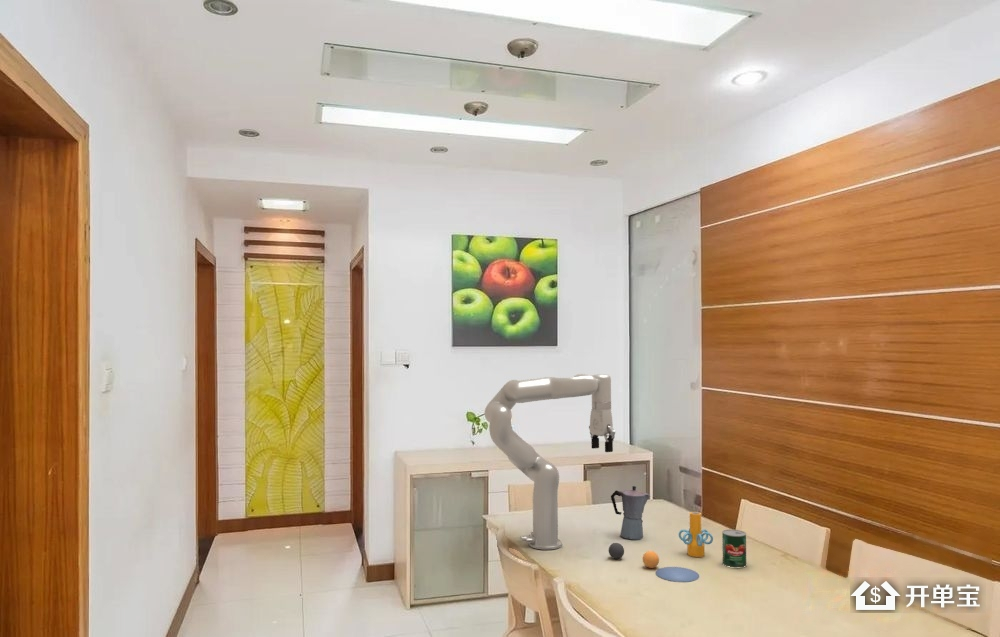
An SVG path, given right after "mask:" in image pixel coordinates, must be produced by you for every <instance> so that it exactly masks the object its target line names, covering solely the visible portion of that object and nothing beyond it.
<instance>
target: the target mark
mask: <svg viewBox="0 0 1000 637" xmlns="http://www.w3.org/2000/svg"><path fill="white" fill-rule="evenodd" d="M655 575H656V576H657V577H658V578H660V579H663V580H666V581H668V582H676V583H689V582H694V581H696V580H698V579H699V578H700V574H699V573H698V572H696V570H693V569H690V568H687V567H681V566H666V567H661V568H658V569H656V570H655Z"/></svg>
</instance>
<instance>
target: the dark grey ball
mask: <svg viewBox="0 0 1000 637" xmlns="http://www.w3.org/2000/svg"><path fill="white" fill-rule="evenodd" d="M608 554H609V556H610V557H611V558H613V559H615V560H618V559H622V558H623V557H624V555H625V547H624V546H623V545H622V544H621V543H619V542H613V543H611V544H610V545H609V547H608Z"/></svg>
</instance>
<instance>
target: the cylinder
mask: <svg viewBox="0 0 1000 637" xmlns="http://www.w3.org/2000/svg"><path fill="white" fill-rule="evenodd" d="M683 532H684V535H683V537H682V533H683ZM687 536H688V537H687ZM704 536H705V538H704ZM686 537H687V538H686ZM678 538H679V539H680V541H682V542H683V544H684V545H686V547H687V548H686V550H687V552H686V553H687V556H689V557H692V558H703V557H705V553H706V552H705V545H711V544H712V543H713V541H714V536H713V535H712V534H711V533H710V532H708V530H707V529H702V513H701V512H698V511H691V512H689V528H688V530H687V529H681V530H679V532H678ZM708 538H710V541H707V540H708Z"/></svg>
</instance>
